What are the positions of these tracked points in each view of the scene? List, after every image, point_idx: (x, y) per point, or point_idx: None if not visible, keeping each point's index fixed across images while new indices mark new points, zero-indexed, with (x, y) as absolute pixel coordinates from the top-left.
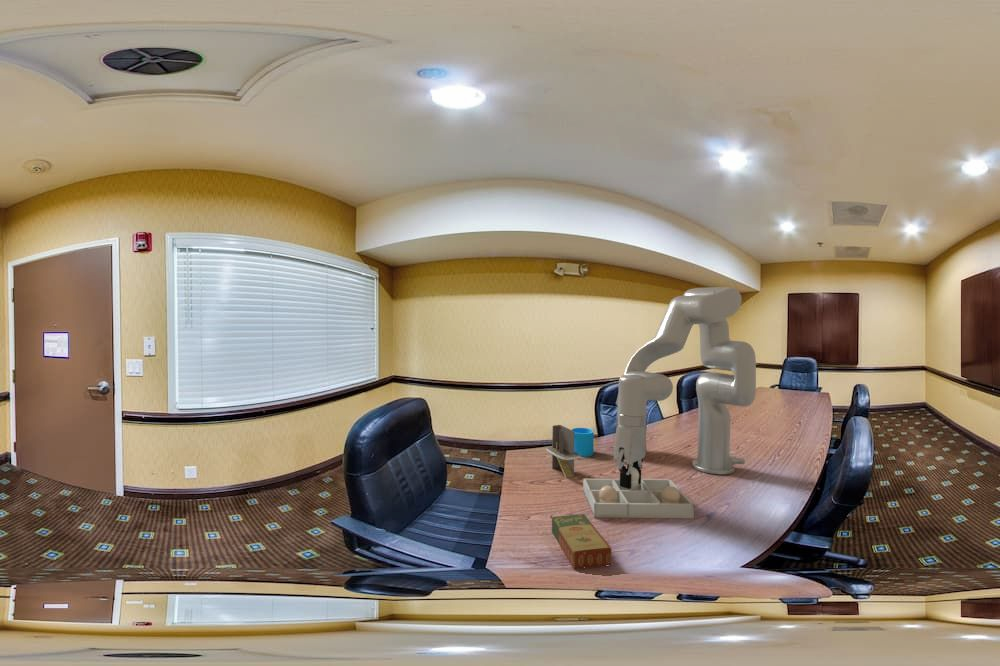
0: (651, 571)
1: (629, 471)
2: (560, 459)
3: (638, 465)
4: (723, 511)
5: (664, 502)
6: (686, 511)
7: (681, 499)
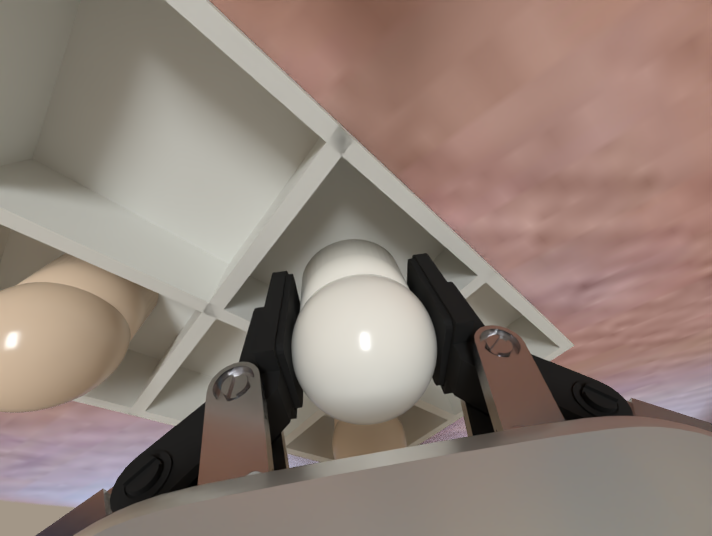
0: (38, 503)
1: (274, 445)
2: None
3: (466, 417)
4: (464, 431)
5: (334, 418)
6: None
7: (422, 410)
